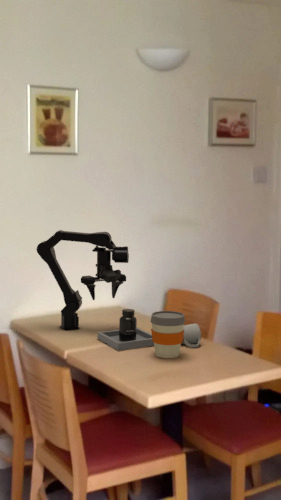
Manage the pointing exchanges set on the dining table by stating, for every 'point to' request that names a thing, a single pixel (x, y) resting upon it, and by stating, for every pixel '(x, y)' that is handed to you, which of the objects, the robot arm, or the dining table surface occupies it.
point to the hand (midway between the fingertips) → (103, 299)
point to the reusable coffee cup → (167, 333)
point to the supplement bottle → (127, 325)
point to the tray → (113, 340)
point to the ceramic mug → (191, 335)
